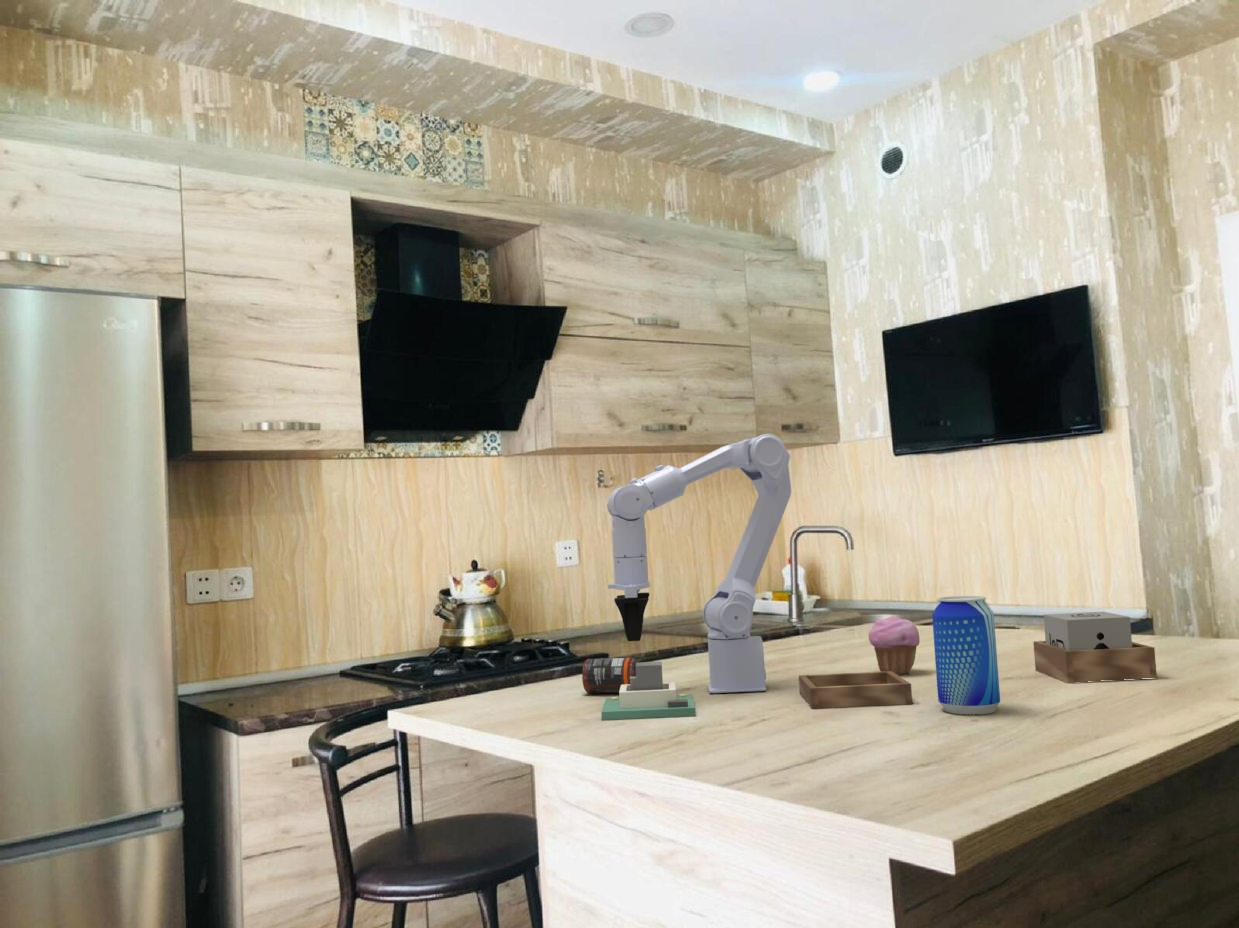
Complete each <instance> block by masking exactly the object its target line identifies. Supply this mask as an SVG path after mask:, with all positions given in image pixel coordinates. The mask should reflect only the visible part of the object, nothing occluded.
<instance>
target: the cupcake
mask: <svg viewBox="0 0 1239 928" xmlns="http://www.w3.org/2000/svg"><path fill="white" fill-rule="evenodd" d="M868 640H869V642H870V643H869V644H870V645H871V646H872V647H874V652H875V656H876V662H877V665H878V668H879V672H883V671H892V672H893V673H895V674H897V675H898V676H902V675H906V674H909V673H910V672H911V671H912V669H913V666H914V664H915V660H916V653H917V647H918V646H919V645H920V633H919V630H918V628H917V626H916V624H914V622H912V621H911V620H909V619H905V618H898V617H894V616H890V617H889V616H888V617H886V618H884V619H877V620H876V621H875V622H874V624H873V625H872V627H871V628H870V630H869V631H868ZM901 674H902V675H901Z"/></svg>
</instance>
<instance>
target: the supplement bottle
mask: <svg viewBox="0 0 1239 928" xmlns="http://www.w3.org/2000/svg"><path fill="white" fill-rule="evenodd" d="M636 663H639V662H638V660H637V659H636V658H633V657H621V658H620V657H618V658H617V657H616V658H615V657H614V658H610V657H609V658H587V659H586V660H584V663H583V665H582V672H581V673H582V674H581V675H582V676H581V679H582V685H583V689H584V691H585V692H586V693H587V694H619V691H620V687H621V685H624V684H630V677H636Z"/></svg>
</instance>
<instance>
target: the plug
mask: <svg viewBox="0 0 1239 928" xmlns="http://www.w3.org/2000/svg"><path fill="white" fill-rule="evenodd" d="M662 663H663V662H662V661H660V660H659V661H645V662H643V661H642V662H641V661H640V662H638V663H636V677H630V687H631V691H641V690H663V683H664V682H663V680H664V679H663V664H662Z"/></svg>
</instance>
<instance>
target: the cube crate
mask: <svg viewBox="0 0 1239 928" xmlns="http://www.w3.org/2000/svg"><path fill="white" fill-rule="evenodd" d="M1033 655H1034V663H1035V664H1034V665H1035V668H1034V669H1035V672H1038V673H1041V674H1043V673H1044V674H1043V675H1046V676H1049V677H1051V678H1053V677H1054V678H1053V679H1056V680H1059V681H1061V680H1062V681H1061V682H1063V683H1067V684H1076V683H1075V682H1084V683H1089V682H1088V681H1101V680H1124V679H1142V678H1157V679H1158V675H1157V674H1158V673H1157V664H1156V663H1157V662H1156V650H1155V647H1153V646H1149V645H1147V644H1146V645H1145V644H1143V643H1139V642H1134V641H1132V648H1115V649H1094V650H1073V651H1069V650H1066V649H1062V648H1059V647H1056V646H1053V645H1050V644H1047V643H1046V640H1039V641H1038V640H1037V641H1036V640H1035V641H1033Z"/></svg>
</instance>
